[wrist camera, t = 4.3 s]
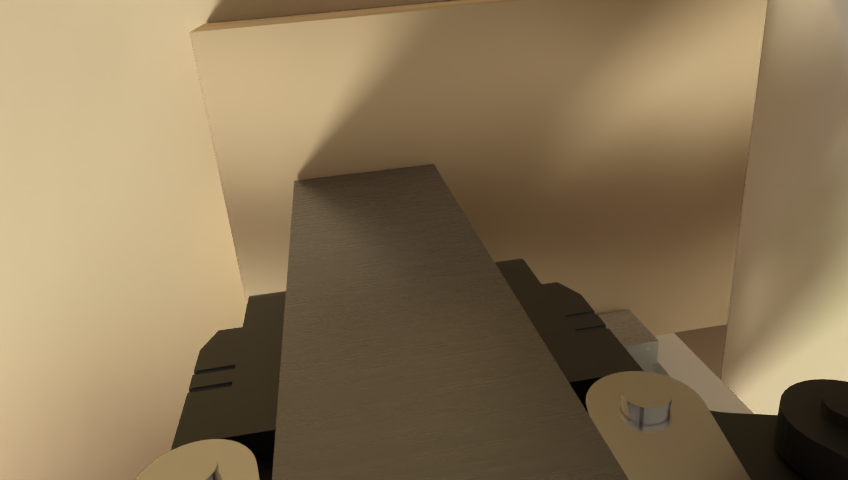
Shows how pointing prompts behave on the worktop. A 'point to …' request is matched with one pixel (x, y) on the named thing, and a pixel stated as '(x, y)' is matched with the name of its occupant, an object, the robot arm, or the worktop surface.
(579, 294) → the robot arm
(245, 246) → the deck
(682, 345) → the cream open box
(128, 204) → the worktop surface
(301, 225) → the grey angular piece
